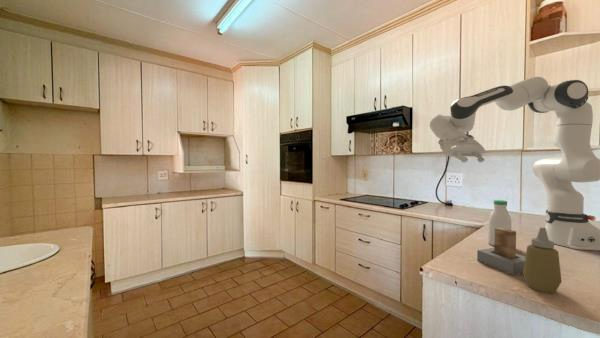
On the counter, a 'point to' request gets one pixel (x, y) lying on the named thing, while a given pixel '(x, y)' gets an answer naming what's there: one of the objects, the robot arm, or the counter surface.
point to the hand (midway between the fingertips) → (474, 161)
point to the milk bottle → (498, 219)
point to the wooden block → (505, 243)
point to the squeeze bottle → (542, 264)
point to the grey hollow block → (501, 261)
